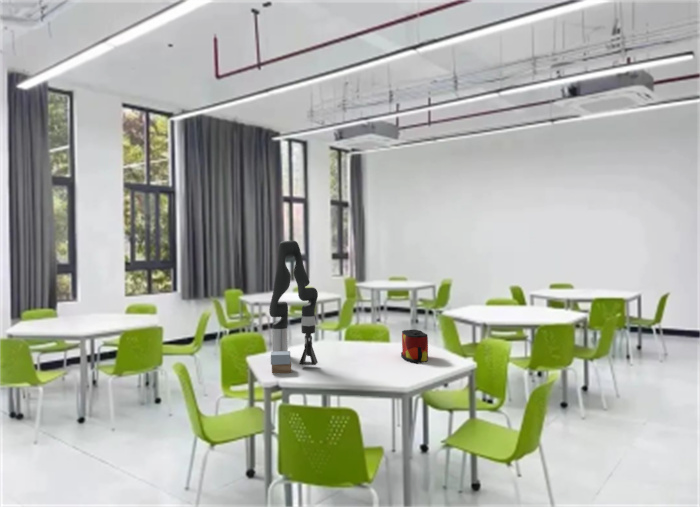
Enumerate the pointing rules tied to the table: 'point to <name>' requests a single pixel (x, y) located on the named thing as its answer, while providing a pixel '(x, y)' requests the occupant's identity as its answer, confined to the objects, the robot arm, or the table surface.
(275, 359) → the tower top
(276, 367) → the tower bottom
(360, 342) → the table surface
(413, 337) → the bag
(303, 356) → the phone stand
